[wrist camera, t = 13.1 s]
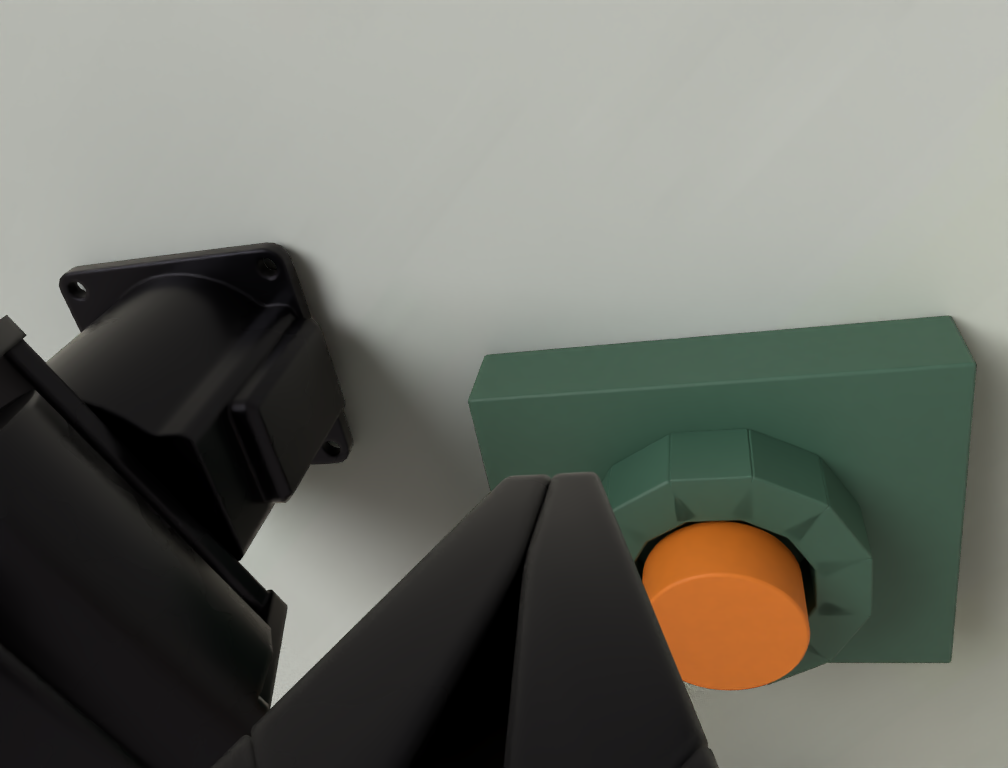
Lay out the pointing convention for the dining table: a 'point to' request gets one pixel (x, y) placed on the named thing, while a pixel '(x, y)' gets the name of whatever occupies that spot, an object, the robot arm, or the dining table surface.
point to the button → (728, 604)
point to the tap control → (770, 458)
